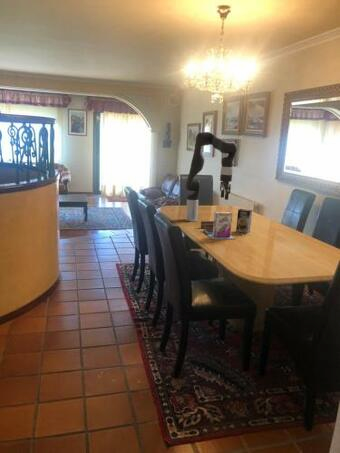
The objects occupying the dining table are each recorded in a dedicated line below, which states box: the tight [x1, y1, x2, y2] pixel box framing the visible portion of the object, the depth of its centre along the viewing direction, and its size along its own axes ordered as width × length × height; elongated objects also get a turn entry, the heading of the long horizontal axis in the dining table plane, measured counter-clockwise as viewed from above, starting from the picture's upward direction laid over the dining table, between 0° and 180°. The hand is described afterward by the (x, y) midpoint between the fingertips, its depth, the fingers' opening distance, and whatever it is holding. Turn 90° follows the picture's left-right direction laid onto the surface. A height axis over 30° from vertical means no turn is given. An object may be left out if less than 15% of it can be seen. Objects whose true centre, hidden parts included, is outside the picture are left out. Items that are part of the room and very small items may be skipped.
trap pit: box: [203, 228, 213, 236], centre depth 259 cm, size 10×16×2 cm, turn 100°
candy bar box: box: [213, 211, 233, 237], centre depth 247 cm, size 11×5×16 cm, turn 99°
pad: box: [207, 234, 236, 240], centre depth 249 cm, size 10×16×1 cm, turn 100°
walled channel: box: [200, 220, 214, 230], centre depth 270 cm, size 11×14×5 cm
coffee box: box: [235, 208, 253, 234], centre depth 267 cm, size 9×6×16 cm
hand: (224, 198), depth 243 cm, fingers open, 8 cm apart
